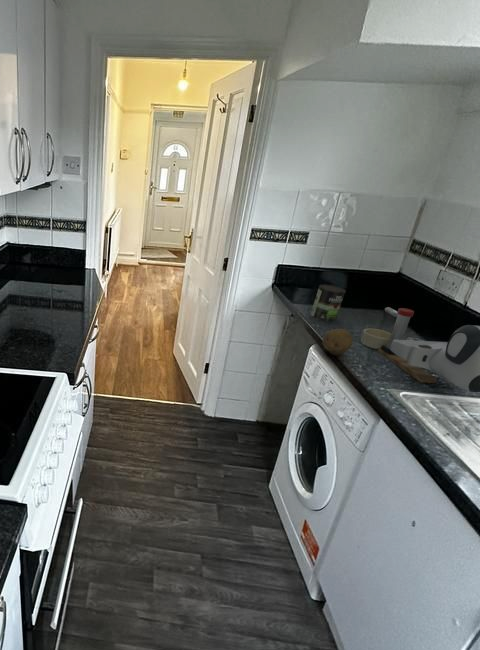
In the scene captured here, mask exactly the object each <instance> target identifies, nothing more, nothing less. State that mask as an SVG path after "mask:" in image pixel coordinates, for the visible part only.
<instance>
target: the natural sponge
mask: <svg viewBox="0 0 480 650" xmlns="http://www.w3.org/2000/svg"><path fill="white" fill-rule="evenodd" d="M353 340H354V339H353V336H352V334H351V333H350V332H349V331H348V330H346V329H343V328H334V329H331V330H329V331H327V332H326V333H325V334H324V336H323V337H322V342H321V344H322V346H323V348H324V349H325V350H326V351H327V352H329V354H330V355H332V356H341V355H343V354H345V353H346V352H347V351H348V350H350V349H351V348H352V346H353V343H354V341H353Z"/></svg>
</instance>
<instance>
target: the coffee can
mask: <svg viewBox="0 0 480 650" xmlns="http://www.w3.org/2000/svg"><path fill="white" fill-rule="evenodd" d="M346 293H347V290H346V289H345V288H343V287H340V286H337V285H332V284H319V285H318V289H317V293H316V296H315V299H314V302H313V305H312V309H311V312H310V314H309V315H310V316H311V317H312V318H313V319H315V320H318V321H321V322H327V323H328V322H331V323H332V322H335V321H336V319H337V318H338V314H339V311H340V309H341V305H342V303H343V299H344V297H345V294H346Z"/></svg>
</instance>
